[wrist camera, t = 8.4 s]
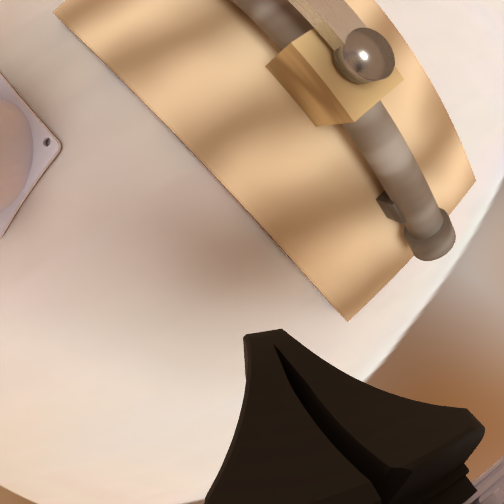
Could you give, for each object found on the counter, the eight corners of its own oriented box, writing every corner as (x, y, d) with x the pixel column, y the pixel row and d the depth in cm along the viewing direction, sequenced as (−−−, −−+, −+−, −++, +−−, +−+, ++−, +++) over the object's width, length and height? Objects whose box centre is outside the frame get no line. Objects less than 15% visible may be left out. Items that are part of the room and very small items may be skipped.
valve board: (60, 20, 11) (24, -16, 6) (253, -92, 10) (273, -135, 5) (338, 311, 22) (377, 355, 17) (463, 177, 21) (514, 190, 16)
